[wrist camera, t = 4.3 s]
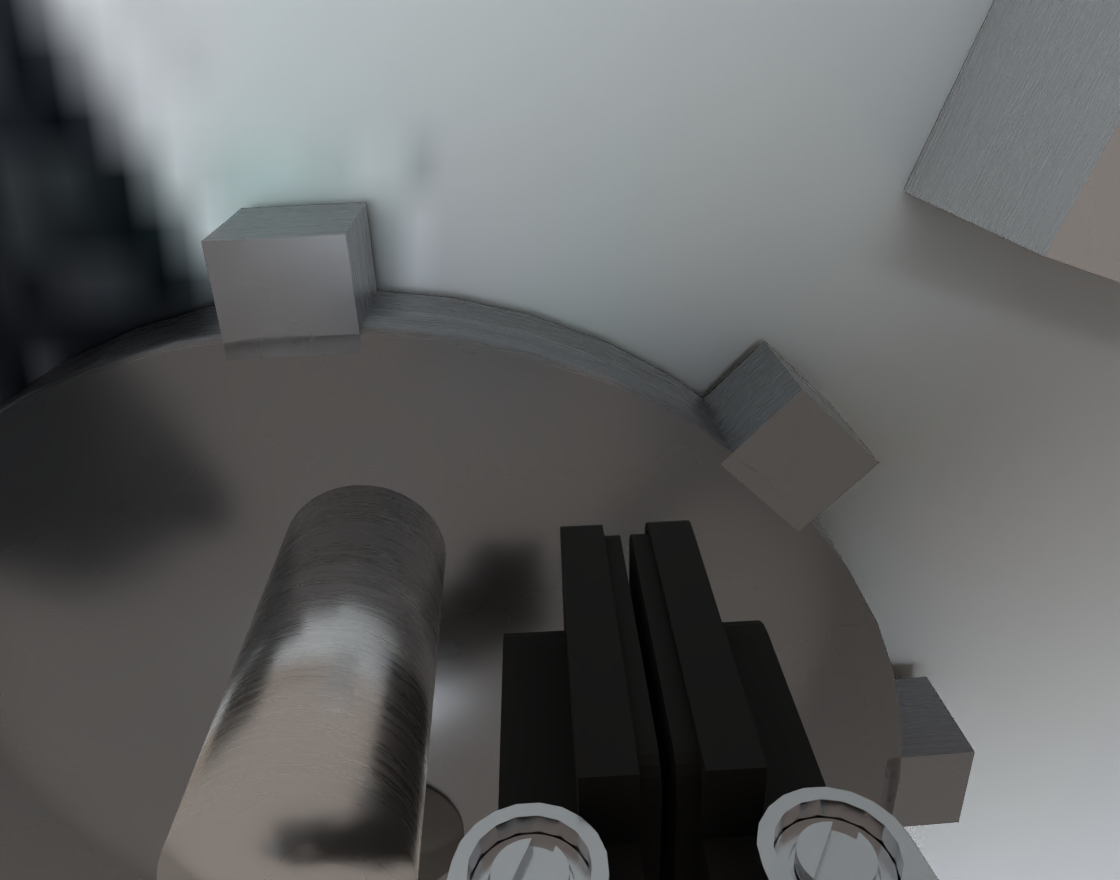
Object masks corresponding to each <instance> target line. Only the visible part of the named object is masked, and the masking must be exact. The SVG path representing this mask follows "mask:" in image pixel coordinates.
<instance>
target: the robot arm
mask: <svg viewBox="0 0 1120 880" xmlns="http://www.w3.org/2000/svg"><path fill="white" fill-rule="evenodd" d="M560 545H561V569H562V594H563V619H564V631H545V632H526V633H506V634H504V637H503V660H502V695H501V729H500V764H499V798H498V810H497V811H494V812H493V813H491V814H490V815H488V816H487V817H485V818H484V819H482V820H481V821H479V822H477V823H476V824H475V825H474V826H473V827H472V828H471V829H470V831H469V832H468V833H467V834H466V835H465V836H464V838H463V839H462V840H461V841H460V843H459V845H458V848H457V850H456V852H455V855H454V857H453V859H452V862H451V866H450V869H449V873H448V877H447V880H939V879H938V878H937V876H936V875H935V873H934V872H933V870H932V869H931V867H930V865H929V864H928V862H927V861H926V859H925V858H924V856H923V854H922V853H921V851H920V850H919V848H918V847H917V845H916V844H915V842H914V840H913V839H912V837H911V836H910V835H909V833H908V832H907V831H906V830H905V829H904V827H903V826H902V825H901V824H900V823H899V822H898V820H897V819H896V818H895V817H894V816H893V815H891V814H890V813H889V812H887V811H886V810H885V809H883V808H882V807H880V806H879V805H878V804H876V803H875V802H874V801H871V800H869V799H867V798H864V797H862V796H860V795H858V794H855V793H853V792H851V791H846V790H841V789H835V788H830V787H826V784H825V782H824V779H823V777H822V774H821V771H820V769H819V766H818V763H817V761H816V758H815V755H814V753H813V750H812V748H811V745H810V742H809V740H808V737H807V734H806V732H805V729H804V727H803V724H802V721H801V719H800V716H799V713H798V711H797V708H796V705H795V703H794V700H793V698H792V695H791V692H790V690H789V687H788V684H787V682H786V679H785V677H784V674H783V671H782V669H781V666H780V663H779V661H778V658H777V655H776V653H775V650H774V648H773V645H772V642H771V640H770V637H769V634H768V632H767V630H766V628H765V626H764V624H763V623H762V622H761V621H760V620H754V621H735V622H722V620H721V617H720V614H719V611H718V607H717V604H716V601H715V598H714V595H713V592H712V588H711V585H710V582H709V579H708V576H707V573H706V569H705V566H704V563H703V560H702V557H701V553H700V550H699V547H698V544H697V541H696V538H695V534H694V531H693V528H692V525H691V523H690V521H689V520H681V521H661V522H646V524H645V532H644V534H630V537H629V582H628V576H627V570H626V565H625V559H624V554H623V548H622V542H621V537H620V535H611V536H604V530H603V525H583V526H562V527H560Z"/></svg>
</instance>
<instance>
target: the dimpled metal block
mask: <svg viewBox="0 0 1120 880" xmlns="http://www.w3.org/2000/svg"><path fill="white" fill-rule="evenodd" d="M904 192H906V193H908V194H910V195H913V196H915V197H917V198H919V199H921V200H923V201H926V202H928V203H930V204H932V205H934V206H936V207H939V208H941V209H943V210H945V211H947V212H949V213H952V214H954V215H956V216H958V217H960V218H962V219H965V220H967V221H969V222H971V223H973V224H975V225H977V226H980V227H982V228H984V229H986V230H988V231H990V232H993V233H995V234H997V235H999V236H1001V237H1003V238H1006V239H1008V240H1010V241H1012V242H1014V243H1016V244H1019V245H1021V246H1023V247H1025V248H1027V249H1029V250H1032V251H1034V252H1036V253H1038V254H1040V255H1042V256H1045V257H1048V258H1050V259H1053V260H1056V261H1059V262H1062V263H1065V264H1068V265H1071V266H1074V267H1076V268H1079V269H1082V270H1085V271H1088V272H1091V273H1094V274H1097V275H1100V276H1102V277H1105V278H1108V279H1111V280H1114V281H1117V282H1120V0H994V2H993V4H992V7H991V9H990V11H989V13H988V15H987V17H986V19H985V21H984V23H983V25H982V28H981V30H980V32H979V34H978V36H977V38H976V40H975V42H974V44H973V46H972V48H971V51H970V53H969V55H968V57H967V59H966V61H965V63H964V65H963V67H962V69H961V72H960V74H959V76H958V78H957V80H956V82H955V84H954V86H953V88H952V90H951V93H950V95H949V97H948V99H947V101H946V103H945V105H944V107H943V109H942V111H941V113H940V116H939V118H938V120H937V122H936V124H935V126H934V128H933V130H932V132H931V134H930V137H929V139H928V141H927V143H926V145H925V147H924V149H923V151H922V153H921V155H920V157H919V160H918V162H917V164H916V166H915V168H914V170H913V172H912V174H911V176H910V178H909V181H908V183H907V185H906V187H905V189H904Z"/></svg>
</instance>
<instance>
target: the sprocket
mask: <svg viewBox="0 0 1120 880" xmlns="http://www.w3.org/2000/svg"><path fill="white" fill-rule="evenodd" d="M201 242H202V247H203V251H204V256H205V261H206V265H207V270H208V274H209V279H210V284H211V288H212V293H213V298H214V302H215V305H214V306H209V307H206V308H202V309H199V310H196V311H192V312H189V313H186V314H182V315H179V316H176V317H172V318H169V319H166V320H163V321H159V322H156V323H153V324H149V325H146V326H143V327H139V328H136V329H133V330H131V331H129V332H127V333H125V334H123V335H120V336H118V337H116V338H114V339H112V340H110V341H107V342H105V343H103V344H101V345H99V346H97V347H94V348H92V349H90V350H88V351H86V352H84V353H81V354H79V355H77V356H75V357H73V358H71V359H68V360H66V361H65V362H63V363H62V364H60V365H59V366H57V367H56V368H54V369H53V370H51V371H49V372H48V373H46V374H45V375H43V376H42V377H40V378H39V379H37V380H36V381H34V382H33V383H31V384H30V385H28V386H27V387H25V388H24V389H22V390H21V391H19V392H18V393H16V394H15V395H13V396H11V397H10V398H8V399H7V400H6V401H4V402H3V403H2V404H1V405H0V880H447V877H448V873H449V869H450V866H451V862H452V859H453V857H454V855H455V852H456V850H457V848H458V845H459V843H460V841H461V840H462V839H463V838H464V836H465V835H466V834H467V833H468V832H469V831H470V829H471V828H472V827H473V826H474V825H475V824H476V823H477V822H479V821H481V820H482V819H484V818H485V817H487V816H488V815H490V814H491V813H493V812H494V811H497V810H498V798H499V764H500V729H501V695H502V660H503V637H504V634H506V633H526V632H545V631H564V619H563V594H562V569H561V545H560V527H562V526H583V525H603V530H604V536H611V535H620V537H621V542H622V548H623V554H624V559H625V565H626V570H627V576H628V582H629V537H630V534H644V532H645V524H646V522H661V521H681V520H689V521H690V523H691V525H692V528H693V531H694V534H695V538H696V541H697V544H698V547H699V550H700V553H701V557H702V560H703V563H704V566H705V569H706V573H707V576H708V579H709V582H710V585H711V588H712V592H713V595H714V598H715V601H716V604H717V607H718V611H719V614H720V617H721V620H722V622H735V621H754V620H760V621H761V622H762V623H763V624H764V626H765V628H766V630H767V632H768V634H769V637H770V640H771V642H772V645H773V648H774V650H775V653H776V655H777V658H778V661H779V663H780V666H781V669H782V671H783V674H784V677H785V679H786V682H787V684H788V687H789V690H790V692H791V695H792V698H793V700H794V703H795V705H796V708H797V711H798V713H799V716H800V719H801V721H802V724H803V727H804V729H805V732H806V734H807V737H808V740H809V742H810V745H811V748H812V750H813V753H814V755H815V758H816V761H817V763H818V766H819V769H820V771H821V774H822V777H823V779H824V782H825V784H826V787H830V788H835V789H841V790H846V791H851V792H853V793H855V794H858V795H860V796H862V797H864V798H867V799H869V800H871V801H874V802H875V803H876V804H878V805H879V806H880V807H882V808H883V809H885V810H886V811H887V812H889V813H890V814H891V815H893V816H894V817H895V818H896V819H897V820H898V822H899V823H900V824H901V825H902V826H903V827H905V826H917V825H929V824H941V823H954V822H959V817H960V813H961V809H962V804H963V800H964V796H965V791H966V787H967V783H968V778H969V774H970V770H971V765H972V761H973V757H974V750H973V749H972V747H971V746H970V744H969V742H968V741H967V739H966V738H965V736H964V735H963V733H962V731H961V730H960V728H959V727H958V725H957V724H956V722H955V721H954V719H953V717H952V716H951V714H950V713H949V711H948V710H947V708H946V706H945V705H944V703H943V702H942V700H941V699H940V697H939V695H938V694H937V692H936V691H935V689H934V688H933V686H932V684H931V683H930V681H929V680H928V678H927V677H919V678H905V679H895V675H894V672H893V669H892V666H891V663H890V660H889V657H888V654H887V651H886V648H885V645H884V642H883V639H882V636H881V633H880V630H879V627H878V624H877V621H876V619H875V617H874V616H873V614H872V612H871V610H870V608H869V606H868V605H867V603H866V601H865V599H864V597H863V595H862V594H861V592H860V590H859V588H858V586H857V584H856V583H855V581H854V579H853V577H852V575H851V573H850V572H849V570H848V568H847V566H846V565H845V563H844V562H843V560H842V558H841V557H840V555H839V554H838V552H837V550H836V549H835V547H834V546H833V544H832V542H831V541H830V539H829V537H828V536H827V534H826V533H825V531H824V529H823V528H822V526H821V525H820V523H819V521H818V520H817V518H816V516H817V515H819V514H820V513H821V512H822V511H823V510H824V509H826V508H827V507H828V506H829V505H830V504H831V503H833V502H834V501H835V500H836V499H837V498H838V497H840V496H841V495H842V494H843V493H844V492H845V491H847V490H848V489H849V488H850V487H851V486H852V485H854V484H855V483H856V482H857V481H858V480H860V479H861V478H862V477H863V476H864V475H865V474H867V473H868V472H869V471H870V470H871V469H872V468H874V467H875V466H876V465H877V464H878V463H879V462H878V460H877V459H876V458H875V457H874V456H873V454H872V453H871V452H870V451H869V450H868V448H867V447H866V446H865V445H864V444H863V442H862V441H861V440H860V439H859V438H858V436H857V435H856V434H855V433H854V432H853V430H852V429H851V428H850V427H849V426H848V424H847V423H846V422H845V421H844V420H843V418H842V417H841V416H840V415H839V414H838V412H837V411H836V410H835V409H834V408H833V407H832V406H831V405H830V404H829V403H828V402H827V401H826V400H825V399H824V398H823V397H822V396H821V395H820V394H819V393H818V392H817V391H816V390H815V389H814V388H813V387H812V386H811V385H809V384H808V383H807V382H806V381H805V380H804V379H803V378H802V377H801V376H800V375H799V374H798V373H797V372H796V371H795V370H794V369H793V368H792V367H791V366H790V365H789V364H788V363H787V362H786V361H785V360H784V359H783V358H781V357H780V356H779V355H778V354H777V353H776V352H775V351H774V350H773V349H772V348H771V347H770V346H769V345H768V344H767V343H766V342H765V341H764V342H763V343H762V344H761V345H760V346H759V347H758V348H757V349H756V350H755V351H753V352H752V353H751V354H750V355H749V356H748V357H747V358H746V359H745V360H744V361H743V362H742V363H741V364H740V365H739V366H738V367H737V368H736V369H735V370H733V371H732V372H731V373H730V374H729V375H728V376H727V377H726V378H725V379H724V380H723V381H722V382H721V383H720V384H719V385H718V386H717V387H716V388H715V389H713V390H712V391H711V392H710V393H709V394H708V395H707V396H706V397H705V398H704V399H703V398H702V397H700V396H699V395H697V394H696V393H694V392H693V391H692V390H690V389H689V388H687V387H686V386H684V385H683V384H682V383H680V382H679V381H677V380H676V379H674V378H673V377H672V376H670V375H669V374H667V373H665V372H663V371H661V370H659V369H657V368H655V367H653V366H651V365H649V364H647V363H645V362H643V361H642V360H640V359H638V358H636V357H634V356H632V355H630V354H628V353H626V352H624V351H622V350H620V349H618V348H616V347H614V346H612V345H610V344H609V343H607V342H605V341H602V340H599V339H597V338H594V337H591V336H588V335H585V334H583V333H580V332H577V331H574V330H571V329H569V328H566V327H563V326H560V325H557V324H555V323H552V322H549V321H546V320H544V319H541V318H538V317H535V316H532V315H528V314H524V313H519V312H515V311H510V310H506V309H501V308H497V307H492V306H488V305H483V304H478V303H474V302H469V301H465V300H460V299H456V298H448V297H437V296H426V295H416V294H405V293H394V292H383V291H377V284H376V277H375V269H374V261H373V254H372V246H371V239H370V231H369V223H368V216H367V208H366V202H359V203H339V204H318V205H298V206H278V207H258V208H241V209H240V210H239V211H238V212H237V213H235V214H234V215H233V216H232V217H230V218H229V219H228V220H227V221H226V222H224V223H223V224H222V225H221V226H220V227H218V228H217V229H216V230H215V231H213V232H212V233H211V234H210V235H209V236H207V237H206V238H205V239H204V240H203V241H201Z"/></svg>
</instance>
